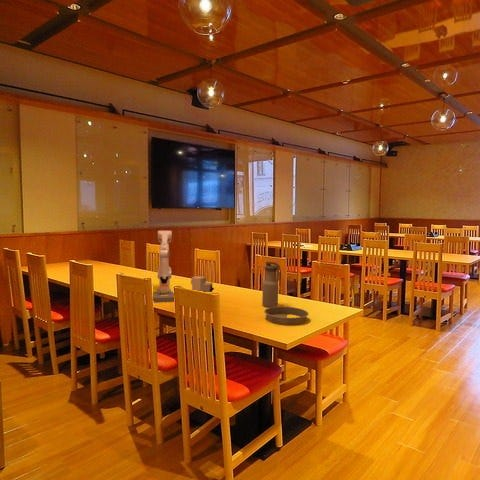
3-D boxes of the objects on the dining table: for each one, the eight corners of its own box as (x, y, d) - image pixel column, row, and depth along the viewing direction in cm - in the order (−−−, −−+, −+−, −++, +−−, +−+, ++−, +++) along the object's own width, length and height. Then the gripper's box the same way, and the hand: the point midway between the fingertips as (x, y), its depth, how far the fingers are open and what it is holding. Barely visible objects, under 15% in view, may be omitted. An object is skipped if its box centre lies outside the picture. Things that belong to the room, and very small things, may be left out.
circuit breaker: (211, 301, 260) (212, 279, 258) (190, 300, 262) (190, 278, 261) (214, 299, 267) (215, 277, 266) (194, 298, 270) (194, 276, 268)
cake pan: (292, 329, 206) (292, 320, 205) (255, 319, 221) (255, 311, 221) (316, 319, 224) (316, 311, 224) (280, 311, 240) (280, 304, 240)
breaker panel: (150, 296, 272) (150, 288, 271) (177, 295, 276) (177, 287, 275) (150, 302, 254) (150, 294, 254) (178, 301, 258) (178, 293, 258)
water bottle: (279, 304, 255) (280, 261, 253) (276, 308, 246) (278, 263, 244) (264, 303, 258) (265, 260, 256) (260, 307, 249) (261, 262, 246)
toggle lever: (160, 292, 267) (160, 283, 265) (167, 292, 268) (167, 283, 266) (160, 294, 265) (160, 284, 263) (167, 293, 266) (167, 284, 264)
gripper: (157, 266, 272) (157, 285, 273) (158, 269, 258) (158, 290, 259) (168, 266, 274) (168, 285, 275) (169, 269, 259) (169, 289, 261)
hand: (164, 287), depth 267 cm, fingers closed
